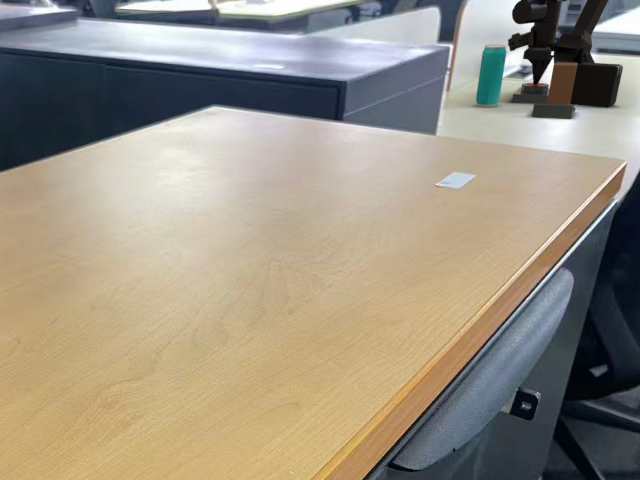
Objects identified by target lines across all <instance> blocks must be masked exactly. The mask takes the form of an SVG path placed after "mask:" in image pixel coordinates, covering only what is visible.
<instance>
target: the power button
mask: <svg viewBox="0 0 640 480" xmlns="http://www.w3.org/2000/svg"><path fill="white" fill-rule="evenodd" d="M528 83H529V84H528V85H533V86H540V85H543V84H541V83H542V82H539V83H538V84H533V82H528Z"/></svg>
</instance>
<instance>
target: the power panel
mask: <svg viewBox="0 0 640 480" xmlns="http://www.w3.org/2000/svg"><path fill="white" fill-rule="evenodd" d="M529 83H530V82H523V83H521V86H520V87H519V88H518V89H517V90H516V91H514V92H513V93H512V97H511V103H515V104H516V103H519V104H535V103H536V104H547V100H548V94H549V88H550V84H549V83H545V82H540V83H541V84H543V85H540V86H533V85H528V84H529Z"/></svg>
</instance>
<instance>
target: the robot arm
mask: <svg viewBox="0 0 640 480" xmlns="http://www.w3.org/2000/svg"><path fill="white" fill-rule="evenodd" d="M567 1H568V0H519V1H517V2H516V3H515V5H514V6H513V8H512V9H511V17H512V21H513V22H514V23H515V24H517V25H526V24H527V25H528V24H533V25H532V26H531V27H530V31H528V32H524V33H520V32H516V33H513V34H512V35H511V36H510V38H508V39H507V46H508V48H509V52H514V51H516V50H518V49H521V48H523V47H526V46H527V48H526V49H525V50H524V51H523V56H522V59H523V60H527V61H528V62H529V63H530V64H531V68H532V83H533V84H538V83H540V81H541V79H542V77H543V76H544V74H545V72H546V71H547V69H548V68H549V65H550V64H551V62H552V61H553V65H554V64H555V63H556V62H565V63H578V65H579V64H582V63H586V62H587V63H596V62H595V60H594V57H593V56H592V54H591V52H592V48H593V41H592V40H593V39H592V35H593V32H594V31H595V28H596V26H597V24H598V22H599V20H600V18H601V17H602V15H603V13H604V11H605V9H606V6H607V4H608V2H609V0H586V2H585V4H584V6H583V8H582V9H581V12H580V13H579V16H578V18H577V19H576V22H575V23H574V26H573V28H572V30H570V31H569V32H562V33H561V35H559V39H558V41H557V40H556V36H557V31H558V29H559V20H560V15H561V10H562V9H561V8H562V3H563V2H567ZM552 52H553V54H552Z"/></svg>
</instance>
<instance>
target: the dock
mask: <svg viewBox="0 0 640 480" xmlns="http://www.w3.org/2000/svg"><path fill="white" fill-rule="evenodd" d="M574 106H575V105H573V104H570V105H558V104H536V103H533V108H532V114H531V117H533V118H549V119H569V120H571V119H572V118H573V116H574V114H575V112H576V107H574Z"/></svg>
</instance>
